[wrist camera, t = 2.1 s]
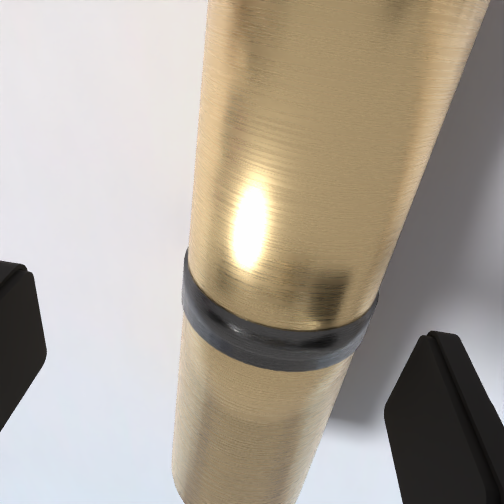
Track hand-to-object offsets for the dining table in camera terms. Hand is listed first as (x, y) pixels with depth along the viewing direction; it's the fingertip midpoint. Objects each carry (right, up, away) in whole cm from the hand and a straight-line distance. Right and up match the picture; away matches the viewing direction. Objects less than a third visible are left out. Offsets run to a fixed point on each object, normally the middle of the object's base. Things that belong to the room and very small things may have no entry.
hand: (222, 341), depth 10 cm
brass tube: (+2, +1, +3) cm, 4 cm away
